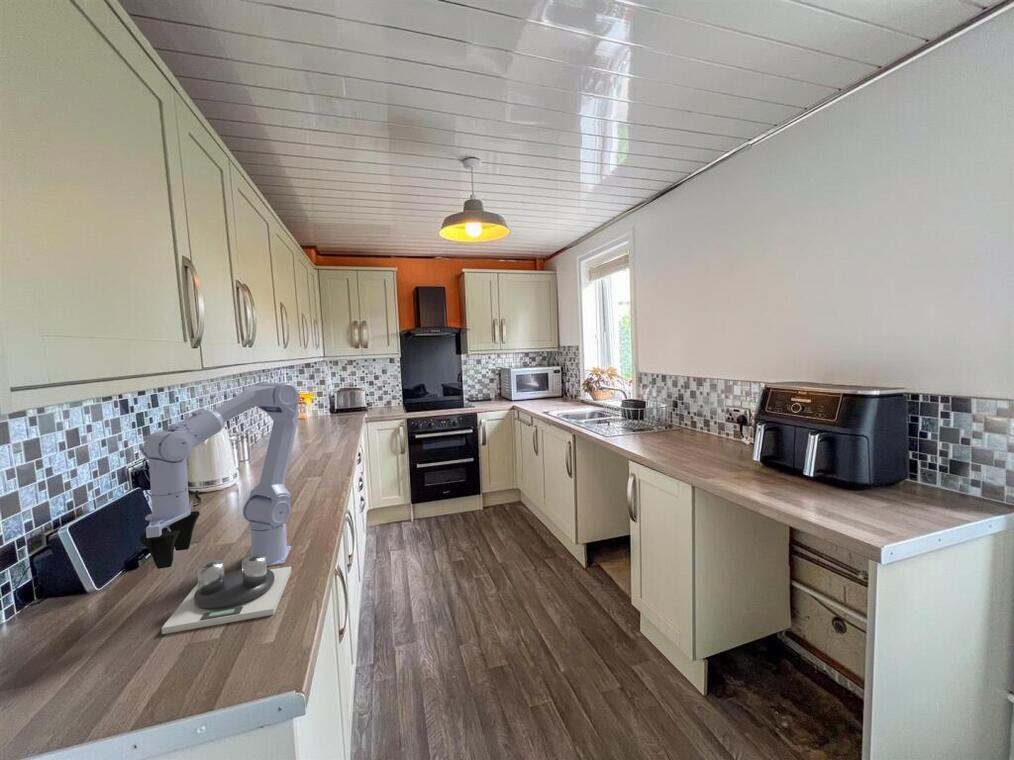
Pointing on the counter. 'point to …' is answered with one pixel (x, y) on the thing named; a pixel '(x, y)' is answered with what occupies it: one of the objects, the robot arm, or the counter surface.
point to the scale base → (199, 617)
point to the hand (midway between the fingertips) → (173, 558)
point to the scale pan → (232, 592)
